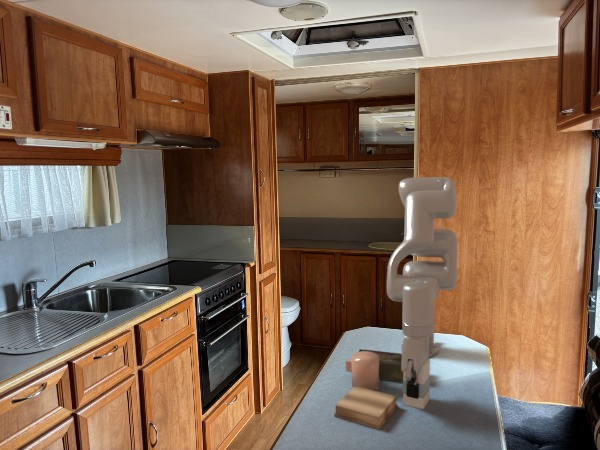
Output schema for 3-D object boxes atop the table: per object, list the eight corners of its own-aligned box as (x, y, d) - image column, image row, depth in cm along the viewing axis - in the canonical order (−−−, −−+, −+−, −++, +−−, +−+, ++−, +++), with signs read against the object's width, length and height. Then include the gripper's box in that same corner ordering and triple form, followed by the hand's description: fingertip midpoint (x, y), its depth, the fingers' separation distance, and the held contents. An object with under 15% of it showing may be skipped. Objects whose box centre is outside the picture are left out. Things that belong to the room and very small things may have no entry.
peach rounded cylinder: (352, 375, 146) (352, 348, 145) (383, 383, 141) (383, 354, 139) (340, 386, 139) (340, 357, 138) (372, 394, 134) (372, 364, 133)
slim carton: (409, 395, 133) (409, 351, 131) (429, 399, 130) (429, 355, 128) (403, 404, 128) (403, 359, 127) (423, 409, 126) (423, 363, 124)
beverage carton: (418, 385, 139) (418, 363, 138) (353, 377, 145) (353, 357, 144) (419, 373, 147) (419, 352, 146) (358, 366, 153) (358, 347, 152)
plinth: (354, 395, 134) (354, 385, 134) (397, 406, 127) (397, 395, 127) (334, 416, 123) (334, 405, 123) (379, 429, 117) (379, 418, 116)
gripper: (413, 317, 136) (413, 376, 138) (391, 336, 121) (391, 403, 124) (439, 321, 132) (438, 382, 134) (420, 342, 117) (420, 410, 120)
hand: (416, 391), depth 129 cm, fingers closed on slim carton, 5 cm apart
